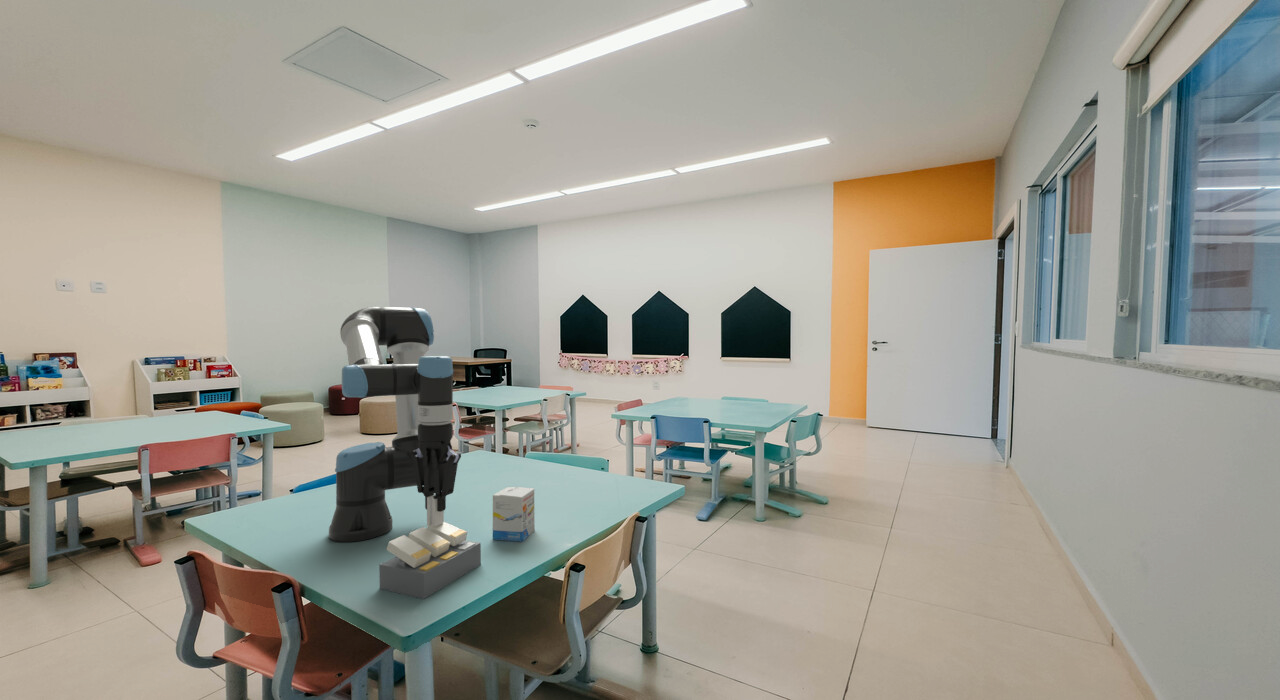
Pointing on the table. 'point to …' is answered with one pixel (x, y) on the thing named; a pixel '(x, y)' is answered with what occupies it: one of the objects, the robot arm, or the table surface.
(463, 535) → the rocker
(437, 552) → the rocker
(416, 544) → the rocker
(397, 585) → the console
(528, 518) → the ink box
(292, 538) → the table surface
